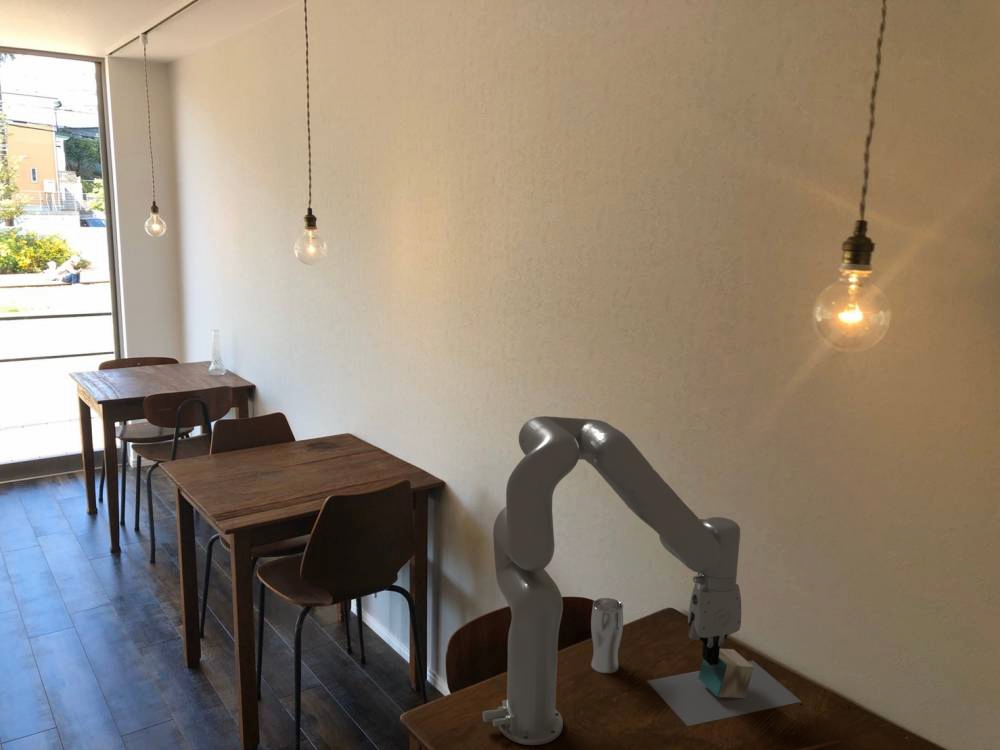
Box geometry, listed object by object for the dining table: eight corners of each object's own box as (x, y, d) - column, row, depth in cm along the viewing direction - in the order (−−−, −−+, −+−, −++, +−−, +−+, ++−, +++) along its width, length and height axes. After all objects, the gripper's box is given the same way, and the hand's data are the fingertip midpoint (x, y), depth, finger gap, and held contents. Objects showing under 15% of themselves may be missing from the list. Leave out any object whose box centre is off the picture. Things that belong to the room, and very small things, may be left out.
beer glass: (627, 670, 171) (630, 607, 168) (603, 679, 167) (606, 615, 164) (606, 655, 176) (609, 594, 173) (582, 664, 172) (585, 602, 170)
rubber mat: (687, 728, 151) (687, 726, 151) (646, 682, 166) (646, 680, 166) (801, 703, 160) (801, 701, 160) (752, 662, 175) (753, 660, 175)
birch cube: (726, 665, 157) (753, 666, 160) (706, 647, 164) (733, 649, 166) (717, 697, 158) (744, 698, 161) (698, 678, 165) (724, 679, 167)
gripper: (695, 592, 151) (688, 677, 154) (759, 582, 156) (751, 665, 159) (674, 575, 158) (669, 657, 161) (736, 566, 163) (730, 646, 166)
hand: (710, 661), depth 160 cm, fingers closed
